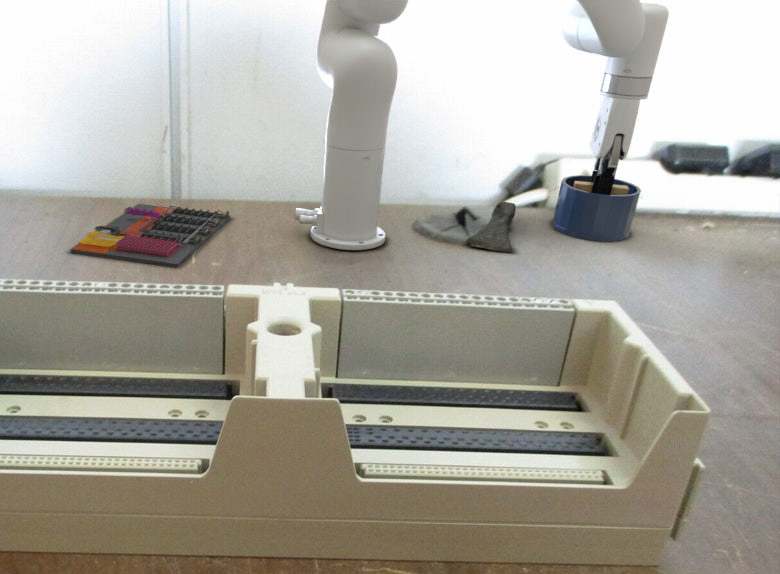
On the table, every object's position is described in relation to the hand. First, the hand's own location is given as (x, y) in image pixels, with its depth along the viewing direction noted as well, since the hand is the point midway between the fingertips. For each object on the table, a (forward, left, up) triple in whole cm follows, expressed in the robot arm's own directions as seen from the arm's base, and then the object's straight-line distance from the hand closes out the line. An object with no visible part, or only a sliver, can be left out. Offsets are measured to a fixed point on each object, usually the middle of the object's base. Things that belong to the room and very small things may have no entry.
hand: (598, 195), depth 136 cm
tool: (-16, -8, -6) cm, 19 cm away
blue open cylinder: (0, 0, -6) cm, 6 cm away
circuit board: (-73, -27, -6) cm, 78 cm away
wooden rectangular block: (0, 0, -1) cm, 1 cm away
